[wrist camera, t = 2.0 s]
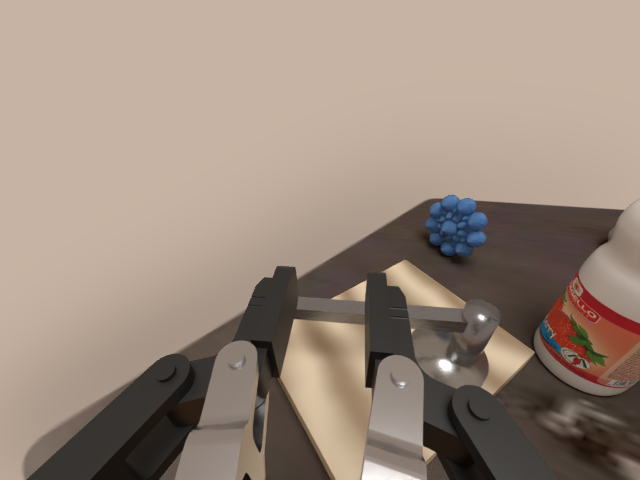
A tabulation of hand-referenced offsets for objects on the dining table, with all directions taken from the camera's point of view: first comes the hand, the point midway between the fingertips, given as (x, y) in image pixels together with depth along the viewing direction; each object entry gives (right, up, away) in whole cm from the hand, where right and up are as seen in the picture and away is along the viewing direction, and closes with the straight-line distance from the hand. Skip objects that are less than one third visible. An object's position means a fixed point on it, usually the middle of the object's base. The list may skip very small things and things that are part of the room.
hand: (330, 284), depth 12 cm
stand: (+8, -13, +24) cm, 28 cm away
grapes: (+24, -1, +40) cm, 46 cm away
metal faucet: (+6, -12, +20) cm, 24 cm away
